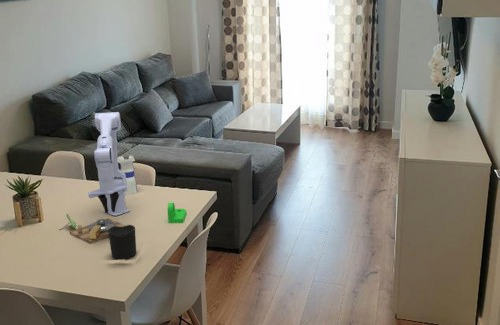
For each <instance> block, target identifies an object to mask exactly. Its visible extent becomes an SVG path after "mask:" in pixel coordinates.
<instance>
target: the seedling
mask: <svg viewBox="0 0 500 325" xmlns="http://www.w3.org/2000/svg"><path fill="white" fill-rule="evenodd" d="M66 218H67V220H68V221H69V223H67V224H65V226H64V227H62V228H60V229H59V231H61V230H62V229H64V228H66V227H67V226H68V225H69V224H71V226H72V227H73V228H74V229H77V226H78V224H77V222H75V220H73V219H71V217H70V216H69V214H68V213H66Z"/></svg>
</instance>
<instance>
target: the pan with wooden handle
mask: <svg viewBox="0 0 500 325" xmlns="http://www.w3.org/2000/svg"><path fill="white" fill-rule="evenodd" d="M88 225H89V231H90V232H89V235H90V239H96V238H97V237H98V236H99V234H100V233H101V232H106V231H108V230H109V229H110V228H111V227H114V222H112V221H105V219H104V218H101V219H97V220H96V221H94V222H92V223H91V224H88Z"/></svg>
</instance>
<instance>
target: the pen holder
mask: <svg viewBox="0 0 500 325" xmlns="http://www.w3.org/2000/svg"><path fill="white" fill-rule="evenodd" d="M108 233H109V237H108V238H109V246H110V251H111V257H112V258H113V259H115V260H118V261H121V260H129V259H131V258H134V256H136V254H137V240H136V227H135V226H134V225H132V224H127V225H126V226H124V227H118V226H114V227H111V228H110V229H109V230H108Z"/></svg>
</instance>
